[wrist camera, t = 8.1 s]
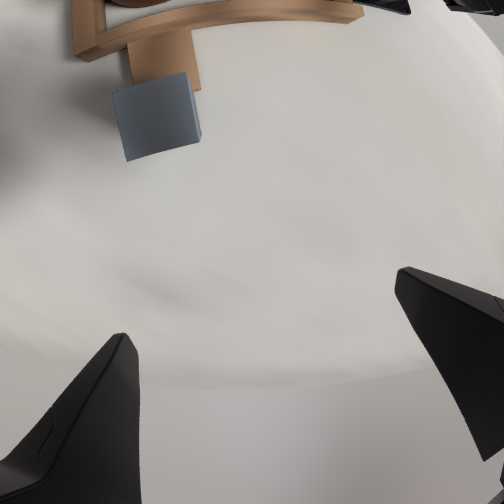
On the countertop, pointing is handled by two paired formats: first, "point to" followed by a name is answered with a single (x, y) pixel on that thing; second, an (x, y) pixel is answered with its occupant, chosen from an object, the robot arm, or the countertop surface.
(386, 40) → the countertop surface
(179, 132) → the brown frame with handle
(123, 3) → the mug
